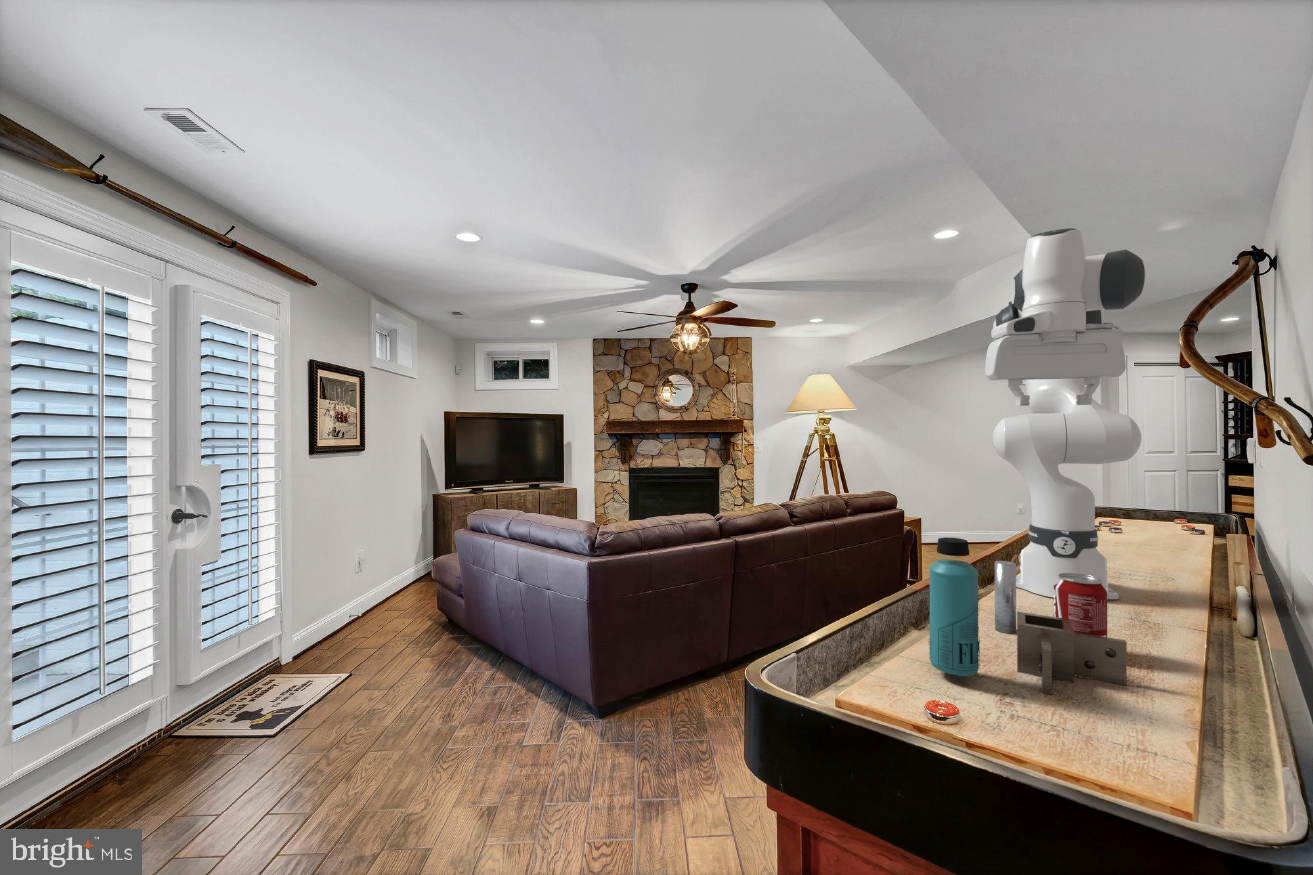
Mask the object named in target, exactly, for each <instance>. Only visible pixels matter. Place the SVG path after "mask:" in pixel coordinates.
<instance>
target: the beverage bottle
mask: <svg viewBox="0 0 1313 875" xmlns="http://www.w3.org/2000/svg"><path fill="white" fill-rule="evenodd" d="M936 553H937V554H939V555H945V556H949V557H950V556H951V557H968V556H970V549H969V541H968V540H967V539H964V538H960V537H947V536H945V537H939V538H937V547H936ZM928 571H929V614H928V616H929V618H928V627H929V638H928V640H929V641H928V644H929V647H928V650H929V652H928V654H929V657H928V658H929V660H930V664H931V665H932V667H933V668H935V669H937V670H938V671H940V672H943V673H946V674H950V675H954V676H961V677H962V676H963V677H965V676H966V677H967V676H968V677H969V676H974V675H976V674H977V673H978V671H979V669H980V666H981V664H980V663H981V651H980V642H981V641H980V640H981V639H980V637H979V632H980V631H979V629H980V627H979V615H980V613H981V612H980V609H979V605H980V596H979V586H978V585H979V584H978V583H979V582H978V580H979V579H978V577H979V571H978V570H977V569H976V568H975V567H974V566H973V565H972V564H971V563H969V562H968V561H963V560H958V559H950V558H949V559H948V558H944V559H943V558H942V559H938V560H936V561H934V562H933V563H932V564H931V565H930V566H929V568H928Z"/></svg>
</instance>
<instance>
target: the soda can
mask: <svg viewBox="0 0 1313 875" xmlns="http://www.w3.org/2000/svg"><path fill="white" fill-rule="evenodd" d="M1058 577H1059V579H1058V580H1057V581H1056V582H1055V584H1054V586H1053V597H1052V598H1053V609H1052V610H1053V616H1052V617H1057V618H1064V619H1070V621H1071V625H1072V628H1073V632H1076V633H1082V634H1089V635H1095V636H1101V637H1108V599H1107V591H1106V590H1105V588H1104V587H1103V586H1102V584H1101V583H1102V580H1101V579H1100V578H1097V577H1094V576H1090V575H1085V574H1077V573H1061V574H1059V575H1058Z"/></svg>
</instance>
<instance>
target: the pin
mask: <svg viewBox="0 0 1313 875" xmlns="http://www.w3.org/2000/svg"><path fill="white" fill-rule="evenodd" d="M1016 576H1017V563H1015V562H1012V561H1008V560H995V561H994V631H996V632H999V633H1001V634H1007V635H1015V634H1017V587H1016Z"/></svg>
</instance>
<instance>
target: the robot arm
mask: <svg viewBox="0 0 1313 875" xmlns="http://www.w3.org/2000/svg"><path fill="white" fill-rule="evenodd" d="M1022 262H1023V263H1022V264H1023V266H1022V269H1021V270H1020V271H1019V272H1018V273H1016V275H1015V276H1014V277H1013V279H1014V297H1013V298H1014V299H1013V303H1012V300H1011V301H1009V302H1008V305H1007V306H1005V307H1004V308H1002V309H1000V311H999V312H998V313H997V315H996V316H995V319H994V322H993V324H992V325H993V326H992V329H991V334H990V335H991V338H992V339H993V341H991V343H990V344H989V345H988V348H987V351H986V356H985V365H984V366H985V367H984V368H985V370H984V374H985V376H986V378H988V380H990V381H1008V382H1007V383H1008V388H1009V390H1010V392H1012V394H1013V395H1014V397H1015V406H1016V407H1029V408H1030V410H1031V411H1032V413H1023V414H1016V415H1012V416H1006V417H1003V418H1002V419H1000V420H999V421H998V422H997V424H996V425H995V427H994V429H993V432H992V436H991V437H992V438H991V439H992V445H993V448H994V450H995V452H996V453H997V454H998V456H1000V457H1001V458H1002V459H1003V460H1005V461H1006V462H1008V463H1009V464H1010V465H1012V466H1013V467H1014V468H1016V470H1017V471H1018V472H1019V474H1020V475H1021V476H1022V478H1023V480H1024V481H1025V483H1026V485H1027V488H1028V489H1027V490H1028V493H1029V498H1030V508H1031V510H1030V512H1031V523H1030V524H1029V527H1028V528H1029V529H1028V540H1029V541H1030V542H1029V544H1027V546H1025V547H1024V548H1023V549H1021V552H1020V553H1019V564H1020V566H1019V572H1020V573H1018V574H1016V588H1020V589H1023V590H1026V591H1028V592H1031V593H1034V594H1036V595H1040V596H1043V597H1044V596H1045V597H1049V598H1053V586H1054V584H1055V582H1056V581H1057V580H1058V579H1059V577H1058V575H1059V574H1061V573H1077V574H1085V575H1090V576H1094V577H1097V578H1100V579H1101V580H1102V583H1101V584H1102V586H1103V587H1104V588H1105V590H1106V591H1107V600H1119V599H1120V595H1119V593H1118V592H1116V591H1115V590H1113V589H1112V588H1111V587H1110V586H1109V582H1108V581H1109V580H1108V559H1107V557H1105V556H1104V555H1103V554H1102V553H1101V552H1100V551H1099V550H1098V549H1097V547H1099V544H1098V543H1099V535H1098V530H1097V529H1096V498H1095V495H1094V492H1092V490H1091V489H1090V488H1089V487H1088V486H1086V485H1085V484H1082V483H1081V482H1079V481H1076V480H1073V479H1072V478H1069V477H1067V476H1064V475H1063V474H1061V472H1060V469H1059V465H1062V464H1069V465H1070V464H1073V465H1075V464H1077V465H1079V464H1081V465H1082V464H1083V465H1103V464H1105V465H1106V464H1110V463H1111V464H1112V463H1119V462H1124V461H1128V460H1130V459H1132V458H1133V457H1134V456H1135V455H1136V453H1137V452H1138V450H1140V446H1141V443H1142V433H1141V430H1140V427H1139V426H1138V424H1137V422H1135V420H1134V419H1132V418H1131V417H1130V416H1128V415H1126V414H1123V413H1120V412H1117V411H1114V410H1111V409H1109V408H1107V407H1105V406H1104V405H1101V404H1100V403H1099V402H1097V401H1096V400H1095V399H1094V398H1093V394H1094V393H1095V392H1096V390H1097V389H1098V388H1099V387H1100V386H1101V385H1100V384H1101V379H1109V378H1110V379H1111V378H1117V377H1120V376H1122V374H1124V373H1125V371H1126V368H1127V367H1126V355H1125V350H1124V345H1123V343H1124V332H1123V330H1122V328H1120V327H1119V326H1118V325H1115V324H1114V323H1112V322H1104V321H1105V315H1106V312H1105V311H1107V310H1108V311H1111V310H1124V309H1125V308H1127V307H1128V306H1130V305H1131V304H1133V303H1134V302H1135V301H1136V300H1137V299H1139V297H1140V296H1141V295H1142V293H1143V289H1144V287H1145V282H1146V267H1145V264H1144V261H1143V259H1142V258H1141V257H1140V256H1139V255H1137V254H1135V253H1134V252H1133V251H1130V250H1128V249H1124V248H1123V249H1120V250H1115V251H1110V252H1107V253H1100V254H1096V255H1095V254H1094V255H1087V256H1086V250H1085V244H1084V238H1083V235H1082V232H1081V230H1080V229H1077V228H1071V227H1070V228H1061V229H1059V228H1058V229H1055V230H1054V229H1053V230H1049V231H1044V232H1039V233H1037V234H1033V235H1031V236H1030V237H1029V238H1028V239H1027V241H1026V246H1025V250H1024V255H1023V261H1022ZM1023 380H1024V381H1023ZM1023 382H1025V391H1026V394H1024V392H1023V390H1022V388H1021V386H1023V385H1024V384H1023Z"/></svg>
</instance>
